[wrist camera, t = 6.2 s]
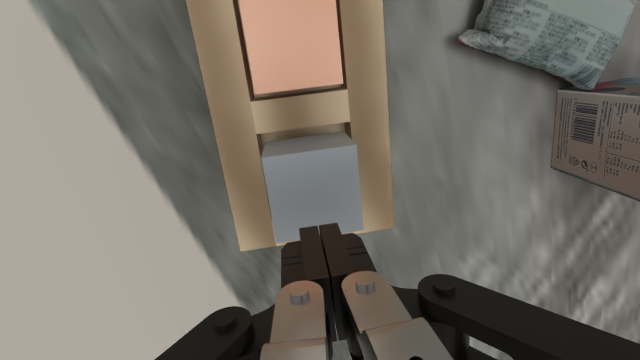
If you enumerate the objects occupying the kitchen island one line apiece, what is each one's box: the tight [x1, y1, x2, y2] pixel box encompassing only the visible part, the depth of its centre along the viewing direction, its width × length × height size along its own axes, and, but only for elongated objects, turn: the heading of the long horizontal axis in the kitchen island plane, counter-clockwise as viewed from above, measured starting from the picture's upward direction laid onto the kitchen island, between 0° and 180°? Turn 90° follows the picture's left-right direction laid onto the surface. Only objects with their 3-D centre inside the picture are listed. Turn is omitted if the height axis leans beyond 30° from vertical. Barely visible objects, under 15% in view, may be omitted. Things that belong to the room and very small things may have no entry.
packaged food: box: [458, 0, 638, 90], centre depth 23 cm, size 9×12×5 cm
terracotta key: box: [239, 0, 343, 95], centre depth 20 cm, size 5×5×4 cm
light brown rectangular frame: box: [186, 0, 394, 251], centre depth 22 cm, size 11×26×5 cm, turn 7°
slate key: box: [261, 131, 364, 243], centre depth 20 cm, size 5×5×4 cm
